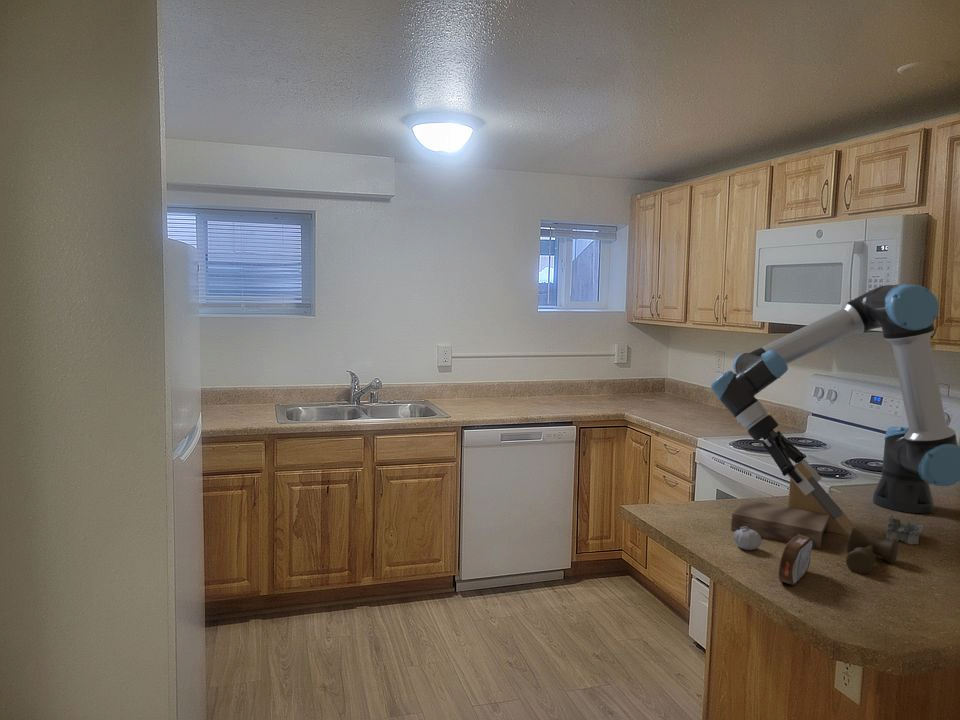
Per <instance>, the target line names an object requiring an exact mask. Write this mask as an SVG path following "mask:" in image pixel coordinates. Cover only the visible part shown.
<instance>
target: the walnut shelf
mask: <svg viewBox="0 0 960 720" xmlns="http://www.w3.org/2000/svg"><path fill="white" fill-rule="evenodd" d="M829 517H830V515H827V514H822V513H817V512H811V511H806V510H800V509H795V508H790V507H788V506H782V505H778V504H772V503H767V502H762V501H757V500H750V499H745V500H744V501H743V502H742V503H741V504H740V506H738V507H737V508H736V509H735V510H734V511H733V512H732V515H731V523H730V525H731V526H730V531H732V530H733V531H732V532H735V531H737V530H740V527H743V526H747V527H748V528H749V529H751V530H754V531H756V532H757V533H758V534H759V535H760V536H761V538H765V539H770V540H775V541H780V542H785V543H788V542H789V541H791V540H792V539H793V538H794V537H796V536H797V535H798V534H801V535H803V536H807V537H810V538H812V540H813V547H812V549H818V550H821V548H822V541H823V534H828V532H829V531H828V528H829Z"/></svg>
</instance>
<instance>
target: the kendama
mask: <svg viewBox="0 0 960 720" xmlns="http://www.w3.org/2000/svg"><path fill="white" fill-rule="evenodd" d="M856 528H857V527H856ZM856 528H852V529H851V531H850V533H849V536H847V537H848V538H847V542H846V551H847V555H846V558H845V565H846V566H847V568H848V569H849V571H851V572H853V573H855V572H856V573H855V574H859V573H860V575H864V574H865V575H868V574H870V573H871V572H872V570H873V567H874V565H875V564H876V556H878V557H880V558H881V559H883V560H885V562H887V563H888V564H891V565H892V564H894V563H895V562H896V559H897V557H898V551H899V541H897V539H888V538H887V539H880V538H879V537H876V538H873V537H869V536H866V535H865V534H864V533H863V532H861V531H860V530H859V529H858V528H857V529H856Z"/></svg>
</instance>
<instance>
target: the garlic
mask: <svg viewBox="0 0 960 720" xmlns="http://www.w3.org/2000/svg"><path fill="white" fill-rule="evenodd" d="M733 540H734V543H735V544H736V545H737V546H738V547H739V548H740V549H742V550H744V551H745V550H746V551H754V550H757V549H758V548H760V547H761V545H762V537H761V536H760V535H759V534H758V533H757V532H756V531H754V530H751V529H749V528H748V527H747V526H743V527H740V530H737V531H734V533H733Z"/></svg>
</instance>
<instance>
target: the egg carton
mask: <svg viewBox="0 0 960 720" xmlns="http://www.w3.org/2000/svg"><path fill="white" fill-rule="evenodd" d="M923 528H924V525H923V524H918V523H917V524H916V523H913V524H912V523H910V522H908V521H907V522H906V523H905V524H902V523H901V519H899V518H897V517H894V516H893V514H891V515H890V516H889V517H888V520H887V522H886V524H885V531H886V537H885V538H886V539H888V538H889V539H897V540H901V541H900V542H903V541H904V543H905V544H907V543H908V545H918V544H919V541H918V540H919V539H920V534H921V533H922V530H923ZM894 529H895V530H894Z"/></svg>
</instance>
